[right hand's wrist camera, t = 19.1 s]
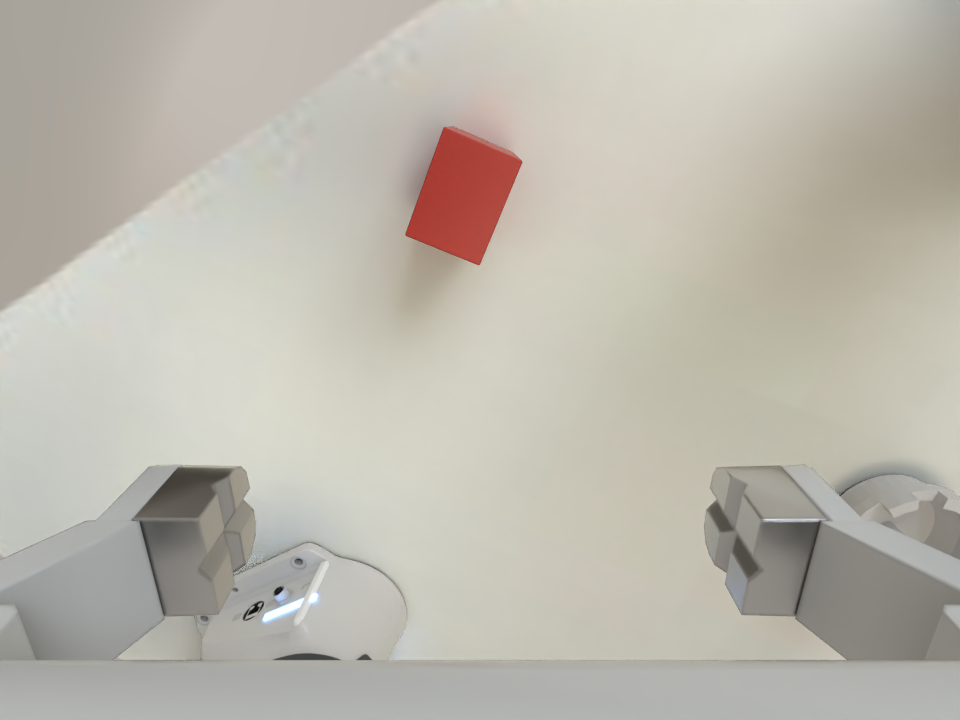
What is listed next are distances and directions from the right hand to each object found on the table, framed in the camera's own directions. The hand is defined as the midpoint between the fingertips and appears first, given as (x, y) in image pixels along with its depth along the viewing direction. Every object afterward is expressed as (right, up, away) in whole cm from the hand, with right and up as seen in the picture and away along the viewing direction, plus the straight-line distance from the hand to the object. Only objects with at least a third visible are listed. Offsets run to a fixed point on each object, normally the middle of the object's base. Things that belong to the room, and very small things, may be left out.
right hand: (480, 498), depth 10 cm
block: (-1, +16, +37) cm, 40 cm away
